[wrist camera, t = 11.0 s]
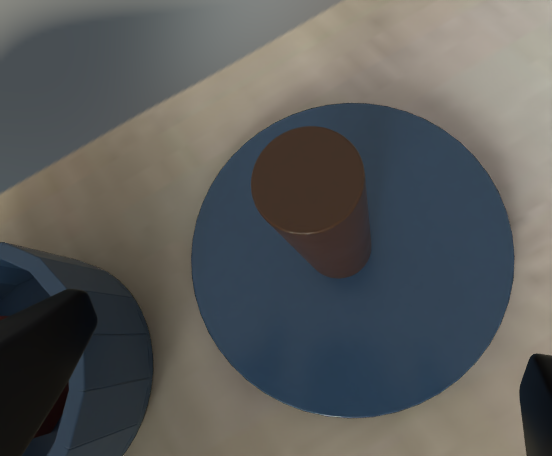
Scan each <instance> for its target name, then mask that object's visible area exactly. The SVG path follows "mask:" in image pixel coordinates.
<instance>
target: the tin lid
mask: <svg viewBox="0 0 552 456" xmlns="http://www.w3.org/2000/svg"><path fill="white" fill-rule="evenodd" d="M514 257H515V256H514V246H513V236H512V231H511V227H510V223H509V219H508V215H507V211H506V209H505V206H504V204H503V201H502V199H501V197H500V194H499V192H498V190H497V188H496V187H495V185H494V183H493V181H492V180H491V178H490V176H489V175H488V173H487V172H486V170H485V169H484V168H483V167H482V165H481V164H480V163H479V162H478V160H477V159H476V158H475V156H474V155H473V154H471V153H470V152H469V151H468V150H467V149H466V148H465V147H464V146H463V145H462V144H461V143H460V142H459V141H458V140H456V139H455V138H454V137H452V136H451V135H450V134H448V133H447V132H446V131H444V130H443V129H441V128H440V127H438V126H436V125H434V124H432V123H431V122H429V121H427V120H425V119H423V118H421V117H418V116H416V115H413V114H411V113H408V112H406V111H402V110H398V109H395V108H391V107H387V106H381V105H374V104H366V103H343V104H332V105H325V106H320V107H316V108H311V109H308V110H305V111H302V112H299V113H296V114H293V115H290V116H288V117H286V118H284V119H282V120H280V121H277V122H275V123H274V124H272V125H270V126H269V127H267V128H266V129H264V130H262V131H261V132H259V133H258V134H257V135H255V136H254V137H253V138H251V139H250V140H249V141H248V142H246V143H245V144H244V145H243V146H242V147H241V148H240V149H239V150H238V151H237V152H236V153H235V154H234V155H233V156H232V157H231V158H230V159H229V161H228V162H227V163H226V164H225V166H224V167H223V168H222V169H221V171H220V172H219V174H218V175H217V177H216V178H215V180H214V182H213V183H212V185H211V186H210V188H209V191H208V193H207V195H206V197H205V199H204V201H203V203H202V206H201V209H200V212H199V215H198V218H197V221H196V226H195V231H194V236H193V243H192V255H191V263H192V279H193V286H194V292H195V297H196V300H197V303H198V307H199V310H200V314H201V316H202V318H203V321H204V323H205V325H206V327H207V330H208V332H209V334H210V335H211V337H212V339H213V340H214V342H215V344H216V345H217V347H218V349H219V350H220V351H221V353H222V354H223V355H224V356H225V358H226V359H227V360H228V361H229V363H230V364H231V365H232V366H233V367H234V368H235V369H236V370H237V371H238V372H239V373H240V374H241V375H242V376H243V377H244V378H245V379H246V380H247V381H249V382H250V383H251V384H253V385H254V386H256V387H257V388H258V389H260V390H261V391H262V392H264V393H265V394H267V395H269V396H271V397H273V398H275V399H276V400H278V401H280V402H282V403H284V404H286V405H289V406H292V407H294V408H297V409H300V410H302V411H305V412H310V413H314V414H318V415H323V416H328V417H339V418H366V417H376V416H381V415H386V414H391V413H396V412H399V411H402V410H405V409H408V408H410V407H413V406H416V405H419V404H421V403H423V402H425V401H426V400H428V399H430V398H432V397H434V396H436V395H438V394H440V393H441V392H442V391H444V390H445V389H447V388H448V387H449V386H451V385H452V384H453V383H455V382H456V381H458V380H459V379H460V378H461V377H462V376H463V375H464V374H465V373H466V372H467V371H468V370H469V369H470V368H471V367H472V366H473V365H474V364H475V363H476V362H477V361H478V359H479V358H480V357H481V355H482V354H483V353H484V351H485V350H486V349H487V347H488V346H489V345H490V343H491V341H492V339H493V337H494V336H495V334H496V332H497V330H498V328H499V326H500V324H501V322H502V319H503V317H504V314H505V311H506V308H507V306H508V303H509V299H510V294H511V289H512V284H513V278H514Z"/></svg>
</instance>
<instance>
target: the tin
mask: <svg viewBox="0 0 552 456" xmlns="http://www.w3.org/2000/svg"><path fill="white" fill-rule="evenodd" d="M66 289H77V290H84V291H86V292H87V293H88V295H89V297H90V299H91V302H92V304H93V307H94V309H95V312H96V314H97V318H98V322H97V326H96V329H95V331H94V333H93V335H92V337H91V339H90V340H89V342H88V344H87V346H86V348H85V350H84V352H83V354H82V356H81V358H80V360H79V362H78V364H77V366H76V368H75V370H74V372H73V373H72V375H71V377H70V379H69V392H68V395H67V399H66V403H65V406H64V410H63V414H62V415H61V417H60V419H59V420H58V422H57V424H56V425H55V427H54V429H53V430H52V432H51V433H49V434H46V435H43V436H39V437H36V438H33V439H32V441H31V442H30V444H29V445H28V447H27V448H26V450H25V452H24V453H23V455H22V456H123V454H124V453H125V452H126V451H127V449H128V447H129V446H130V444H131V442H132V441H133V439H134V437H135V436H136V433H137V431H138V429H139V427H140V425H141V423H142V420H143V417H144V414H145V411H146V408H147V405H148V401H149V396H150V392H151V386H152V376H153V353H152V346H151V339H150V335H149V331H148V327H147V324H146V321H145V319H144V316H143V314H142V311H141V309H140V308H139V306H138V304H137V302H136V300H135V299H134V297H133V296H132V295H131V293H130V292H129V291H128V289H127V288H126V287H125V286H124V285H123V284H122V283H121V282H120V281H119V280H118V279H116V278H115V277H113V276H112V275H111V274H109V273H108V272H106V271H104V270H102V269H100V268H98V267H96V266H93V265H90V264H87V263H84V262H82V261H79V260H76V259H72V258H68V257H63V256H59V255H55V254H51V253H47V252H43V251H38V250H34V249H30V248H26V247H22V246H18V245H13V244H9V243H5V242H0V316H11V315H13V314H15V313H17V312H19V311H21V310H23V309H26V308H28V307H30V306H32V305H34V304H36V303H38V302H40V301H43V300H45V299H47V298H49V297H51V296H53V295H55V294H57V293H59V292H62V291H64V290H66Z"/></svg>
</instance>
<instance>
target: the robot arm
mask: <svg viewBox="0 0 552 456" xmlns="http://www.w3.org/2000/svg"><path fill="white" fill-rule="evenodd" d="M97 322H98V318H97V314H96V312H95V309H94V307H93V304H92V302H91V299H90V297H89V295H88V293H87V292H86V291H84V290H77V289H66V290H64V291H62V292H59V293H57V294H55V295H53V296H51V297H49V298H47V299H45V300H43V301H40V302H38V303H36V304H34V305H32V306H30V307H28V308H26V309H23V310H21V311H19V312H17V313H15V314H13V315H11V316H9V317H7V318H4V319H2V320H0V456H22V455H23V453H24V452H25V450H26V448H27V447H28V445H29V444H30V442H31V441H32V439H33V437H34V436H35V434H36V433H37V431H38V430H39V428H40V426H41V425H42V423H43V422H44V420H45V419H46V417H47V415H48V414H49V412H50V411H51V409H52V408H53V406H54V404H55V403H56V401H57V400H58V398H59V397H60V395H61V393H62V392H63V390H64V388H65V387H66V385H67V383H68V381H69V379H70V377H71V375H72V373H73V372H74V370H75V368H76V366H77V364H78V362H79V360H80V358H81V356H82V354H83V352H84V350H85V348H86V346H87V344H88V342H89V340H90V339H91V337H92V335H93V333H94V331H95V329H96V326H97ZM519 393H520V405H521V413H522V422H523V430H524V438H525V446H526V455H527V456H552V356H551V355H544V354H533V355H532V356H531V357H530V359H529V362H528V364H527V367H526V370H525V373H524V375H523V378H522V381H521V384H520V392H519Z"/></svg>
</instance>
